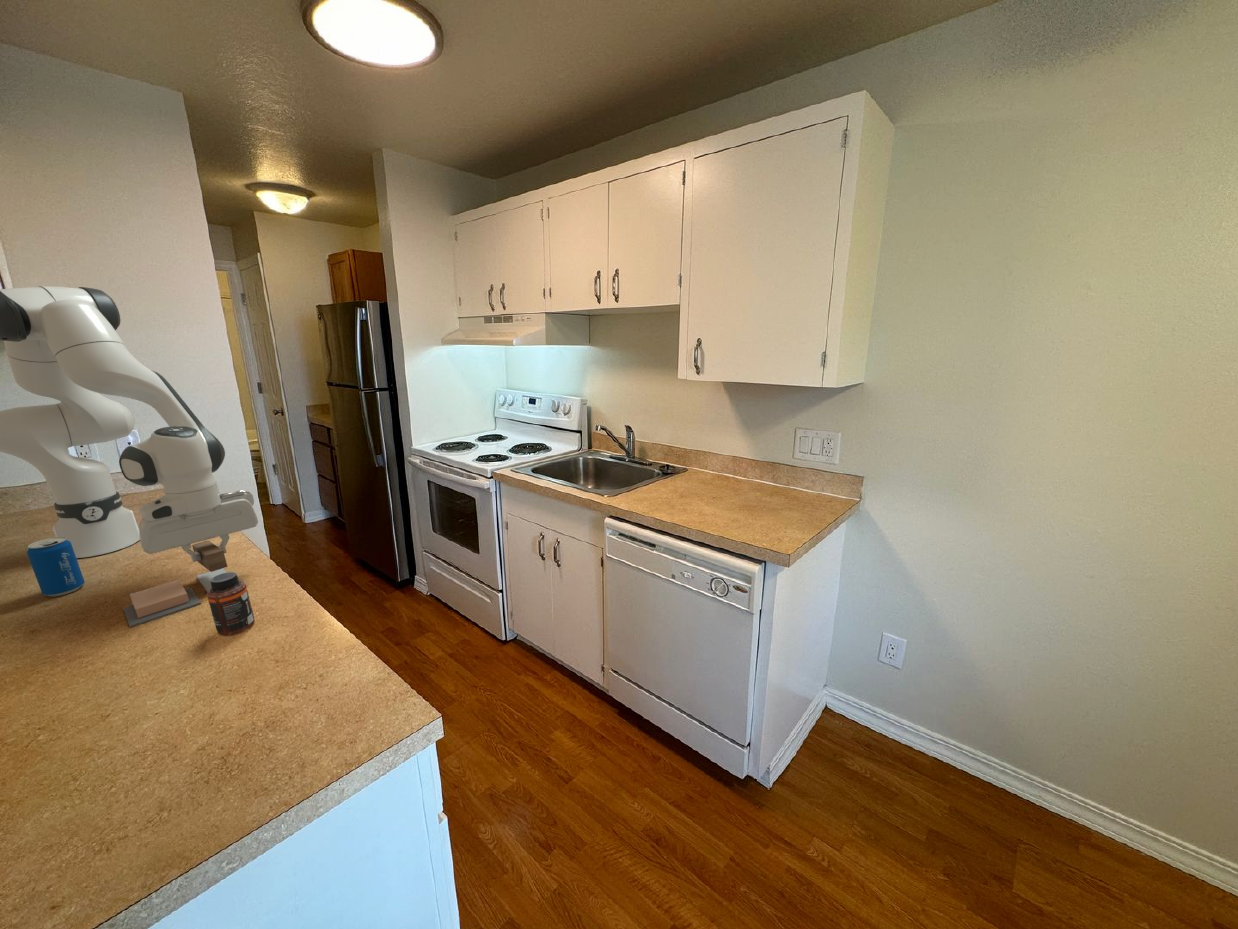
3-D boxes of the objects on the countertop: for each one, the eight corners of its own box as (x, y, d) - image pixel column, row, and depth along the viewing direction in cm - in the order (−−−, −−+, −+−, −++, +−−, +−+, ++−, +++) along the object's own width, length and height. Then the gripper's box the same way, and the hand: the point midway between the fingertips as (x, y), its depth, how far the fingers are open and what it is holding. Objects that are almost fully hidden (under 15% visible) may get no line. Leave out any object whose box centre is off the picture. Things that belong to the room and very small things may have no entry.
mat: (123, 609, 102) (122, 608, 102) (191, 588, 110) (190, 587, 110) (130, 627, 96) (129, 626, 96) (201, 604, 104) (200, 602, 104)
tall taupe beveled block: (196, 560, 113) (192, 544, 112) (212, 555, 115) (208, 540, 114) (211, 572, 107) (206, 555, 106) (227, 566, 110) (223, 550, 109)
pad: (197, 577, 115) (196, 575, 115) (223, 570, 118) (222, 567, 118) (209, 595, 107) (208, 592, 107) (236, 586, 111) (236, 583, 111)
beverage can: (57, 599, 106) (38, 549, 103) (35, 596, 107) (16, 547, 104) (93, 584, 112) (77, 537, 109) (72, 582, 113) (55, 535, 110)
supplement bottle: (262, 622, 97) (250, 571, 94) (231, 640, 92) (217, 587, 89) (242, 617, 99) (229, 567, 96) (210, 634, 94) (195, 581, 90)
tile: (129, 594, 103) (135, 609, 97) (178, 579, 109) (186, 593, 103) (132, 603, 104) (138, 618, 98) (181, 588, 109) (189, 602, 104)
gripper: (247, 485, 117) (259, 538, 120) (129, 509, 102) (147, 569, 105) (254, 490, 113) (267, 545, 117) (133, 516, 98) (152, 578, 102)
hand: (209, 556), depth 111 cm, fingers closed on tall taupe beveled block, 3 cm apart
